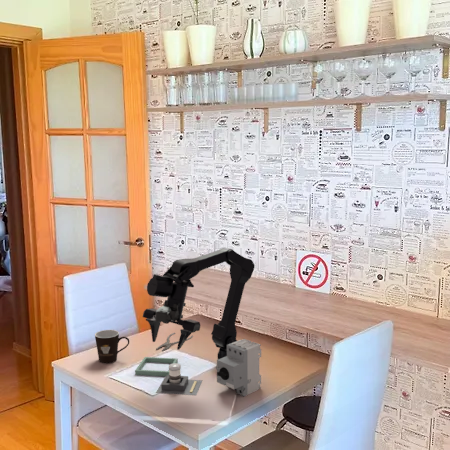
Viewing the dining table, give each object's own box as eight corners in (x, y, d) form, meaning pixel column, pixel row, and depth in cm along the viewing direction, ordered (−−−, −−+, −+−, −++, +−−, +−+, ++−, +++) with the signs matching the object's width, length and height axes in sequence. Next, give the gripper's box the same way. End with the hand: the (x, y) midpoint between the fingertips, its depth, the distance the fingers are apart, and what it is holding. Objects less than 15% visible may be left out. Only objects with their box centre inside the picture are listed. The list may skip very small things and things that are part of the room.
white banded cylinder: (182, 383, 187) (181, 363, 186) (179, 389, 184) (179, 368, 183) (170, 383, 188) (170, 363, 187) (168, 388, 184) (167, 367, 183)
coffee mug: (91, 362, 208) (89, 335, 207) (105, 354, 216) (104, 328, 214) (117, 367, 203) (116, 340, 202) (131, 358, 211) (130, 332, 209)
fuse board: (202, 383, 190) (202, 374, 190) (196, 398, 180) (196, 389, 179) (164, 381, 192) (164, 372, 192) (155, 395, 181) (155, 386, 181)
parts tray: (177, 365, 205) (177, 358, 205) (169, 379, 193) (169, 372, 193) (145, 363, 207) (144, 356, 206) (135, 377, 195) (135, 370, 195)
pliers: (194, 333, 236) (179, 351, 217) (194, 335, 236) (179, 353, 217) (171, 332, 238) (155, 349, 219) (171, 333, 238) (155, 351, 219)
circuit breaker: (213, 395, 182) (212, 349, 179) (244, 381, 191) (244, 338, 189) (230, 403, 176) (229, 356, 174) (261, 388, 186) (261, 344, 184)
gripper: (139, 292, 183) (128, 340, 183) (191, 306, 176) (180, 356, 176) (156, 291, 193) (146, 337, 193) (205, 305, 186) (195, 352, 186)
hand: (165, 345), depth 187 cm, fingers open, 9 cm apart
